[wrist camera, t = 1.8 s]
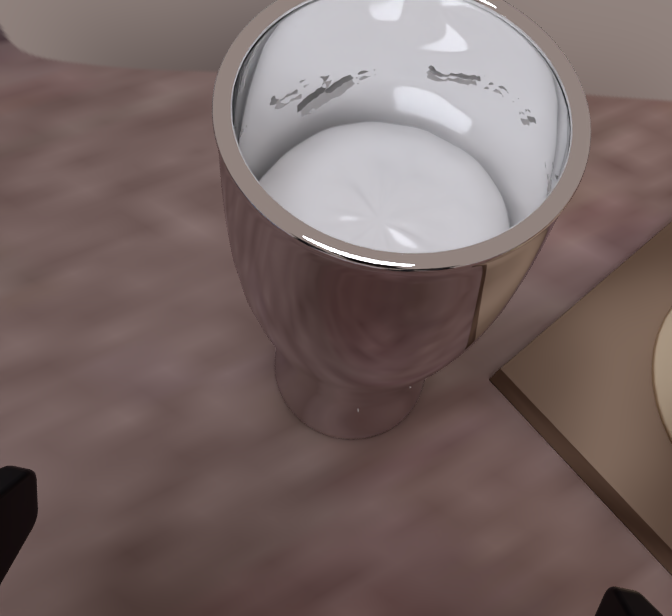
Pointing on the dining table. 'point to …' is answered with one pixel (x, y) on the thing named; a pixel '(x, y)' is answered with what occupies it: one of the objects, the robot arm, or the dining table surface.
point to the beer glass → (389, 187)
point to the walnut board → (610, 391)
